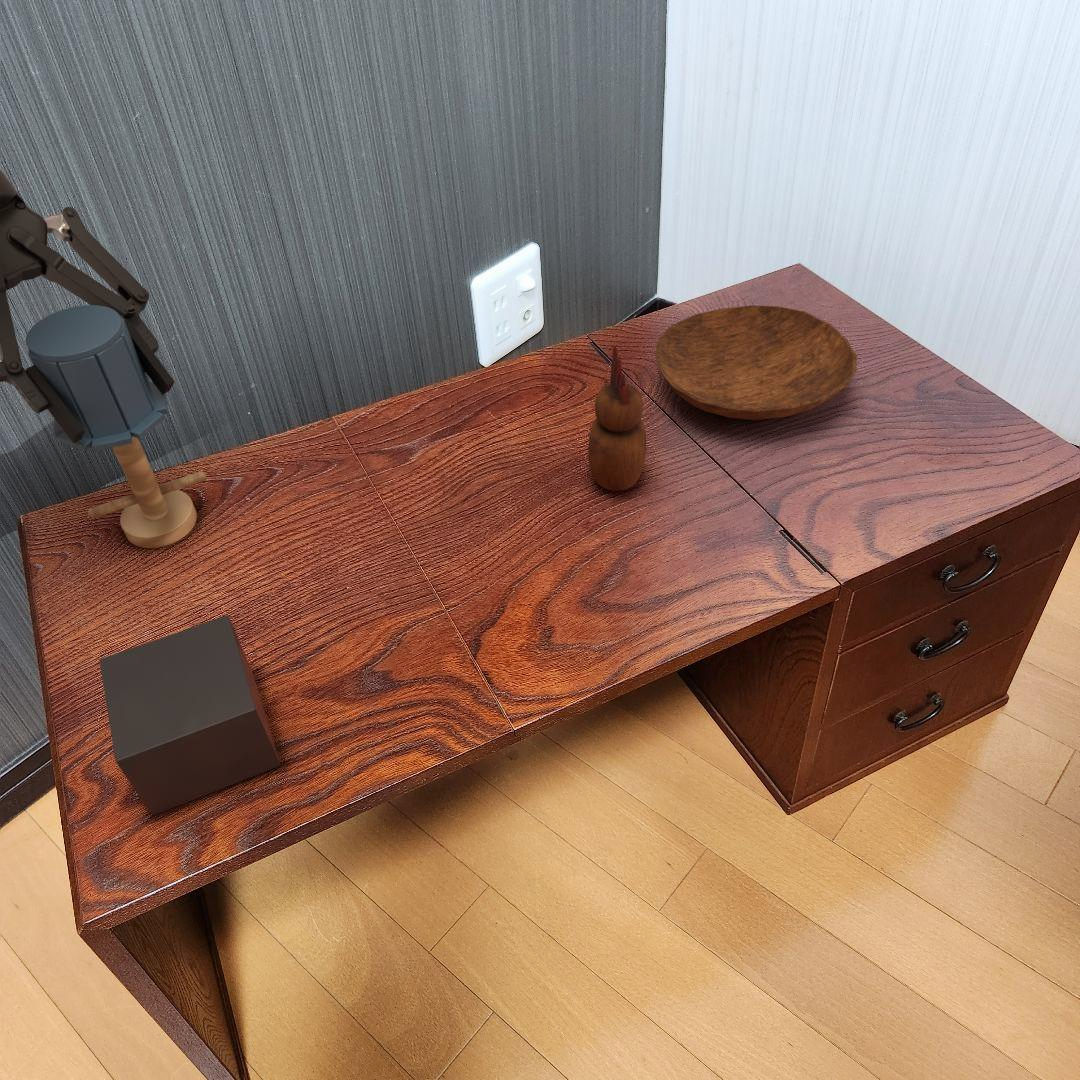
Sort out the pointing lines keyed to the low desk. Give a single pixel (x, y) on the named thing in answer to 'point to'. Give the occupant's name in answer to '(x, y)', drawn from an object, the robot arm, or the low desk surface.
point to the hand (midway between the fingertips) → (124, 411)
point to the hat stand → (151, 502)
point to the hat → (96, 376)
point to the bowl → (755, 361)
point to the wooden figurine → (617, 433)
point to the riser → (186, 715)
